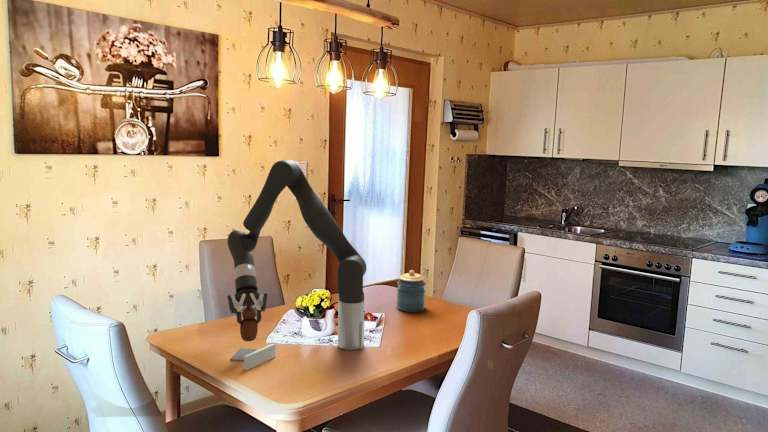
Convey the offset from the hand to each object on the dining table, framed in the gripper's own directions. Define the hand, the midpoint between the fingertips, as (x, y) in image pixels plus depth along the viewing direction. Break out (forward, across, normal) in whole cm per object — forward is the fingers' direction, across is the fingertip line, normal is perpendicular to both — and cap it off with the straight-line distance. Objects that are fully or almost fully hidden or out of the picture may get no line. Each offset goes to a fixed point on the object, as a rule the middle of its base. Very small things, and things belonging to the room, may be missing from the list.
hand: (249, 322), depth 191 cm
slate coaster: (+8, 0, +10) cm, 13 cm away
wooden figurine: (+4, 0, +6) cm, 7 cm away
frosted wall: (+13, +3, +5) cm, 14 cm away
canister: (-19, +76, +36) cm, 86 cm away
